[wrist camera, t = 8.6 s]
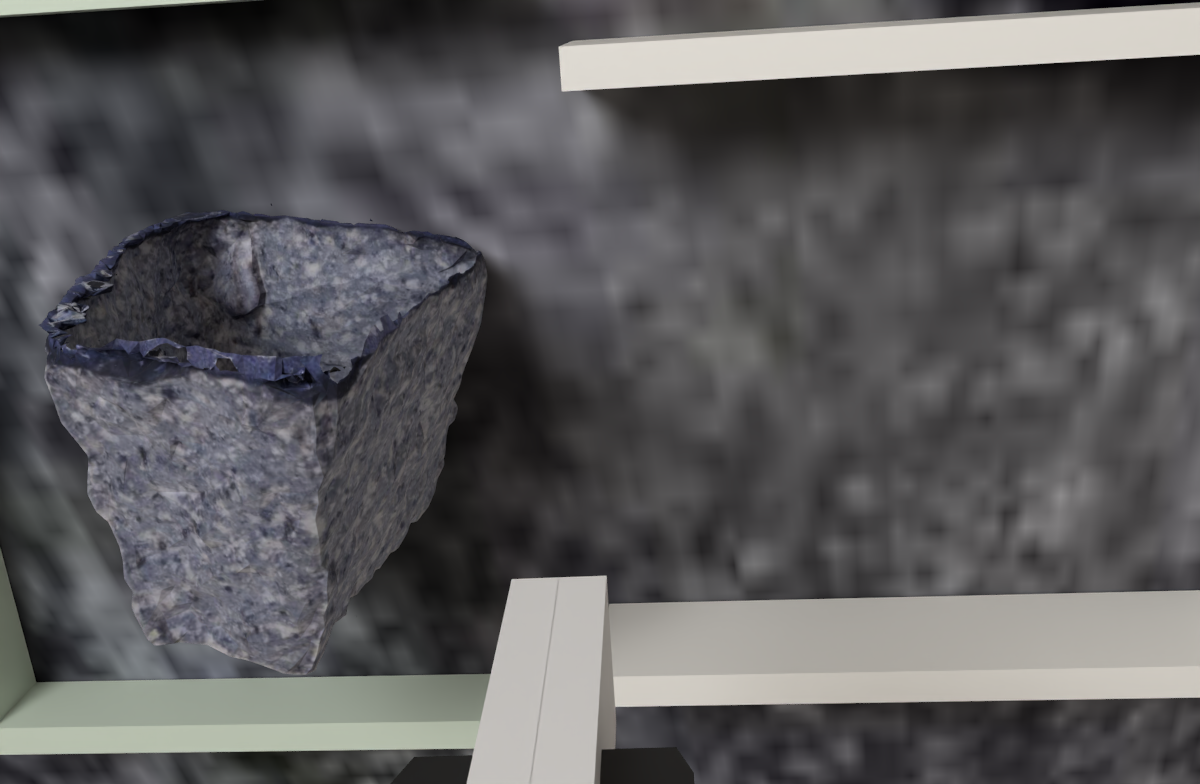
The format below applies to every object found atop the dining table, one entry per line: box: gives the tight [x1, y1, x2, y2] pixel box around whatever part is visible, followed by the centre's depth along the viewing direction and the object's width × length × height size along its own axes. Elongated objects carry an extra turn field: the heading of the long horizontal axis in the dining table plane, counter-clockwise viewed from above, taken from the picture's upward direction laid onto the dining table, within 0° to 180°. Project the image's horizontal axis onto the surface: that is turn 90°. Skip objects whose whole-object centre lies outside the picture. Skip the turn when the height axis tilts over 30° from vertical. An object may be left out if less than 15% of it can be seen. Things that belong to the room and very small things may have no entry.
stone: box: [39, 204, 487, 675], centre depth 28 cm, size 12×10×10 cm
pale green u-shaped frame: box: [0, 0, 491, 755], centre depth 32 cm, size 19×23×2 cm
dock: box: [559, 2, 1200, 707], centre depth 30 cm, size 20×18×4 cm
